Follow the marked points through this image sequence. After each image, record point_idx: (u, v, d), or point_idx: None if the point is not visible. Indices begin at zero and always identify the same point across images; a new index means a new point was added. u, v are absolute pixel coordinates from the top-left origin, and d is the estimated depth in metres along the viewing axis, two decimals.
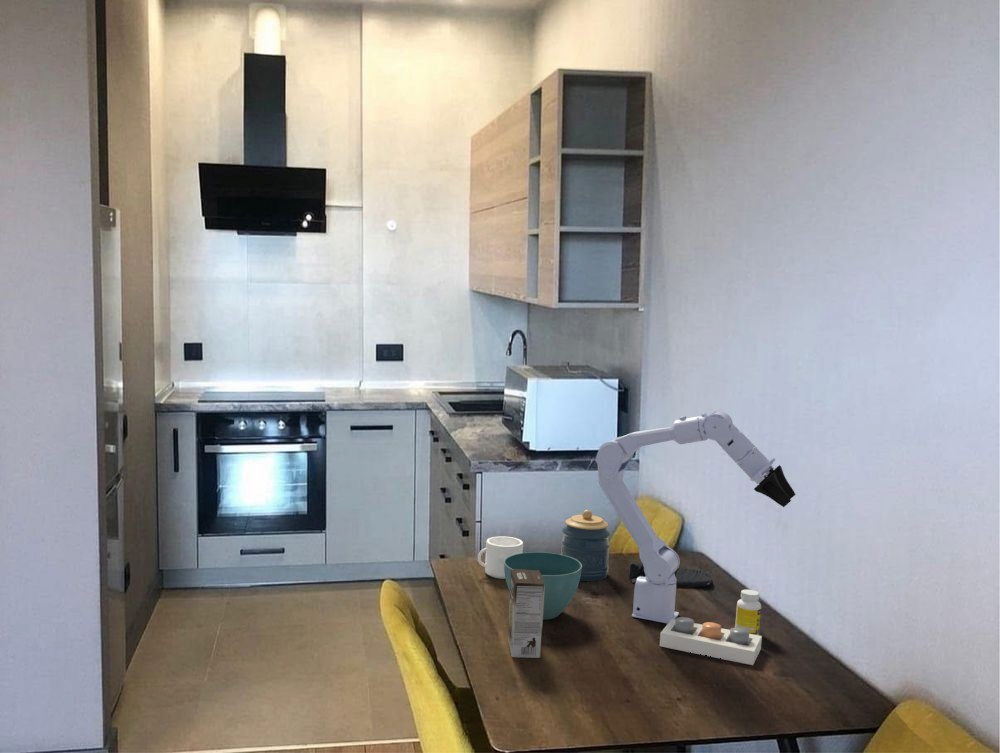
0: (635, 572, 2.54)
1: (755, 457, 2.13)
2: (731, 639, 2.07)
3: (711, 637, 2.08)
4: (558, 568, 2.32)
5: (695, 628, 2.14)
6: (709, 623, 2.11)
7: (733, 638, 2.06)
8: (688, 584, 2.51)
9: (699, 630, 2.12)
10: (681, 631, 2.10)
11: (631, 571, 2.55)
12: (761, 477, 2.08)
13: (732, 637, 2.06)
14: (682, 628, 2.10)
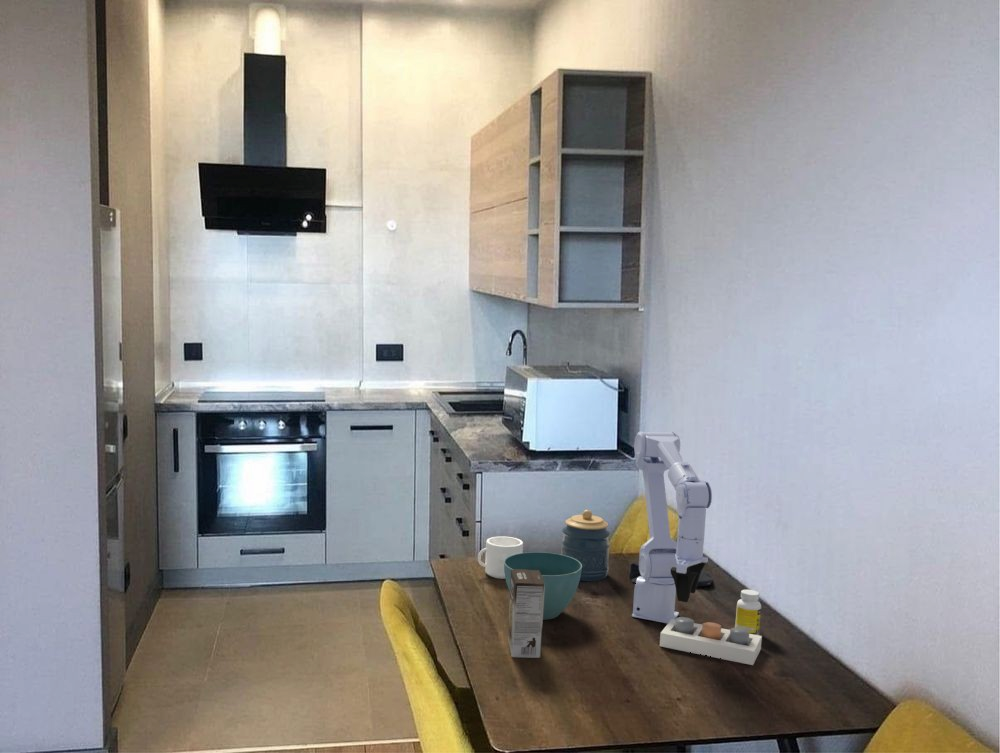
0: (635, 572, 2.55)
1: (695, 547, 2.07)
2: (731, 639, 2.07)
3: (711, 637, 2.08)
4: (558, 568, 2.32)
5: (695, 628, 2.14)
6: (709, 623, 2.11)
7: (733, 638, 2.06)
8: None
9: (699, 630, 2.12)
10: (681, 631, 2.10)
11: (631, 571, 2.56)
12: (684, 570, 2.04)
13: (732, 637, 2.06)
14: (682, 628, 2.10)
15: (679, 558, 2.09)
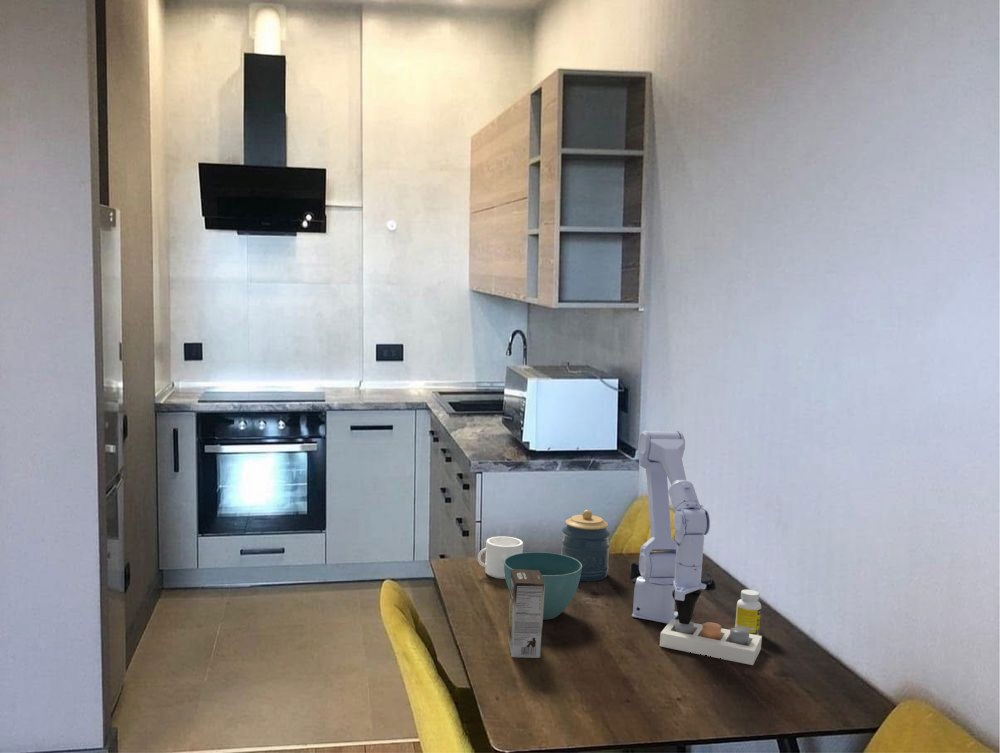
0: (636, 571, 2.55)
1: (693, 574, 2.08)
2: (731, 639, 2.07)
3: (711, 637, 2.08)
4: (558, 568, 2.32)
5: (695, 628, 2.14)
6: (709, 623, 2.11)
7: (733, 638, 2.06)
8: None
9: (699, 630, 2.12)
10: None
11: (632, 570, 2.56)
12: (682, 598, 2.04)
13: (732, 637, 2.06)
14: (682, 630, 2.10)
15: (677, 585, 2.09)
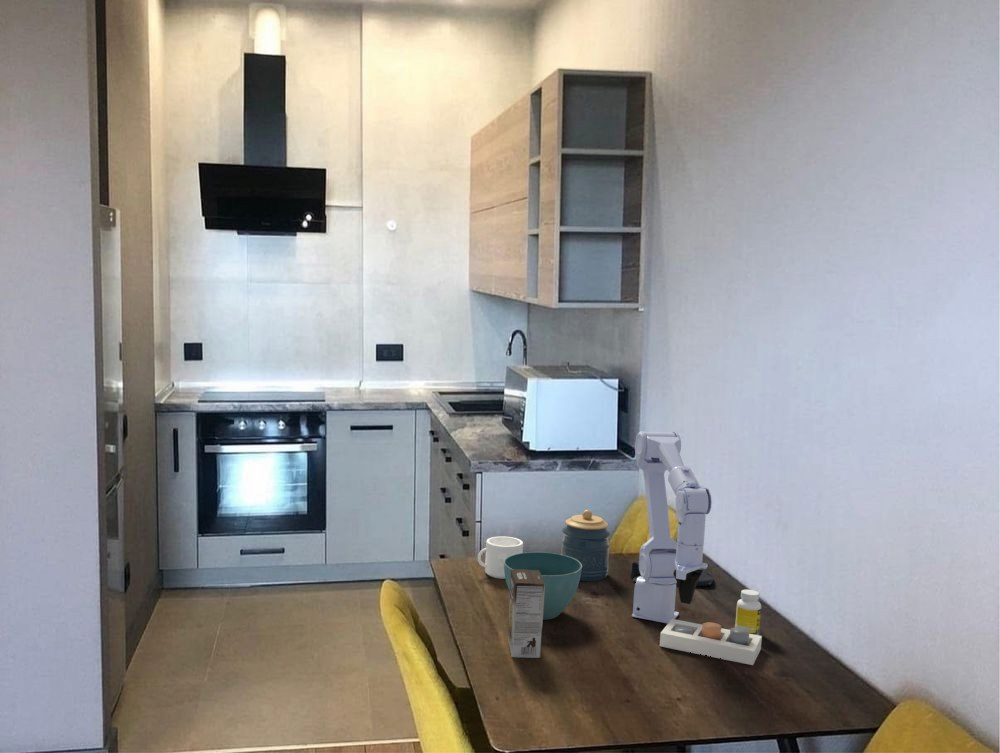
0: (637, 571, 2.56)
1: (694, 553, 2.07)
2: (731, 639, 2.07)
3: (711, 637, 2.08)
4: (558, 568, 2.32)
5: (695, 628, 2.14)
6: (709, 623, 2.11)
7: (733, 638, 2.06)
8: None
9: (699, 630, 2.12)
10: None
11: (633, 570, 2.56)
12: (683, 577, 2.04)
13: (732, 637, 2.06)
14: None
15: (679, 564, 2.09)
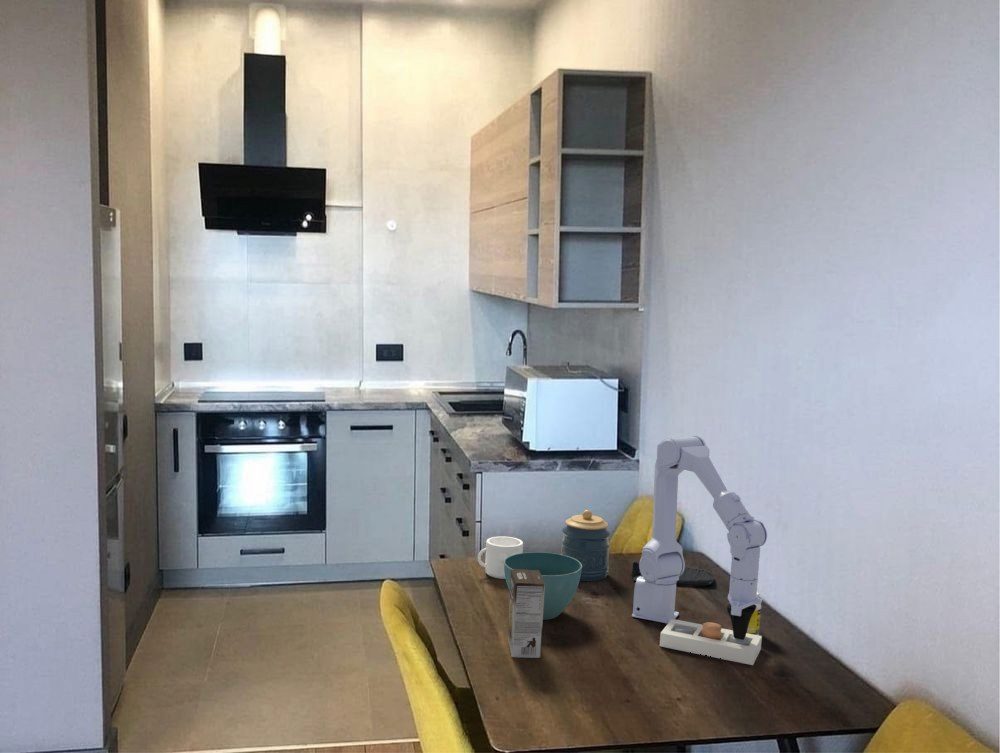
0: (637, 570, 2.56)
1: (749, 588, 2.03)
2: None
3: (711, 637, 2.08)
4: (558, 568, 2.32)
5: (695, 628, 2.14)
6: (709, 623, 2.11)
7: None
8: (690, 583, 2.52)
9: (699, 630, 2.12)
10: None
11: (633, 569, 2.57)
12: (739, 613, 1.99)
13: None
14: None
15: (733, 599, 2.04)
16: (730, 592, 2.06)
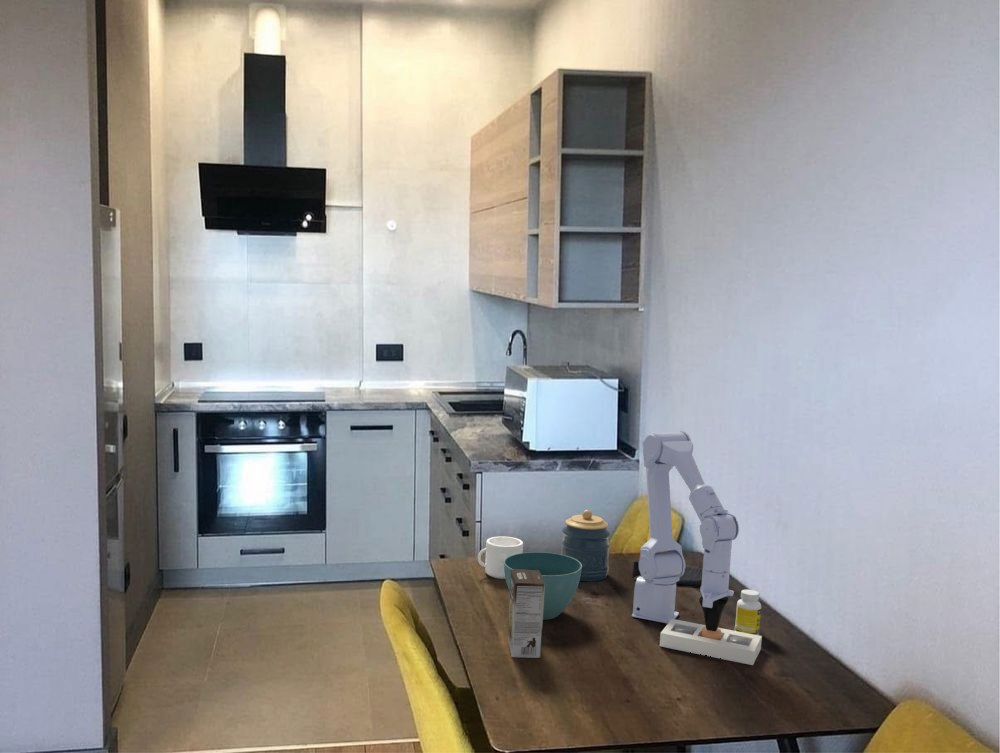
0: (638, 570, 2.57)
1: (720, 581, 2.06)
2: None
3: None
4: (558, 568, 2.32)
5: (695, 628, 2.14)
6: None
7: None
8: (690, 583, 2.52)
9: (699, 630, 2.12)
10: None
11: (634, 569, 2.57)
12: (710, 605, 2.02)
13: None
14: None
15: (705, 591, 2.07)
16: (702, 584, 2.08)
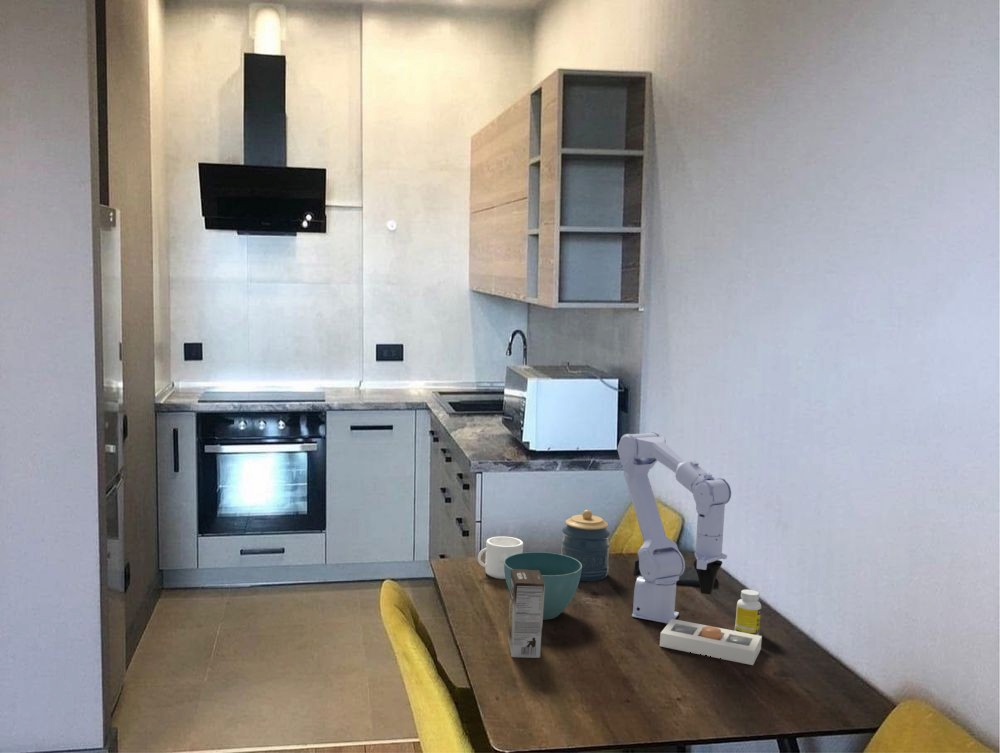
0: (639, 569, 2.57)
1: (714, 544, 2.10)
2: None
3: None
4: (558, 568, 2.32)
5: (695, 628, 2.14)
6: (709, 627, 2.11)
7: None
8: (691, 582, 2.52)
9: (699, 630, 2.12)
10: None
11: (636, 568, 2.58)
12: (704, 567, 2.07)
13: None
14: None
15: (699, 555, 2.12)
16: (696, 548, 2.13)
